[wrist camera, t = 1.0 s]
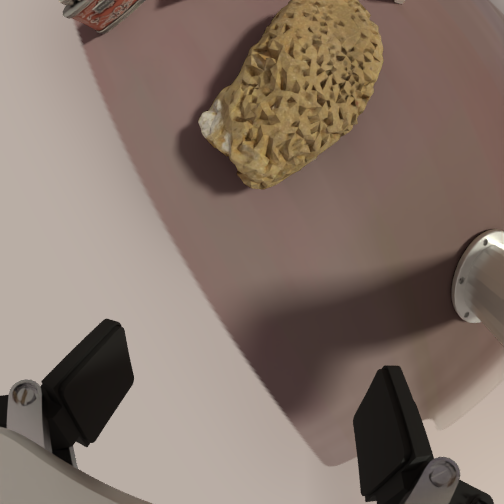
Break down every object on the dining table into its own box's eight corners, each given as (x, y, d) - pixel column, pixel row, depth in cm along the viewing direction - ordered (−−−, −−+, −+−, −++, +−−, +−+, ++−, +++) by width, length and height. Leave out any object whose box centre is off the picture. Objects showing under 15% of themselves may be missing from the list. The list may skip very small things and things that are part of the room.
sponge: (279, 196, 28) (428, 79, 18) (247, 207, 21) (446, 49, 11) (205, 108, 28) (333, -4, 18) (159, 97, 21) (318, -46, 11)
